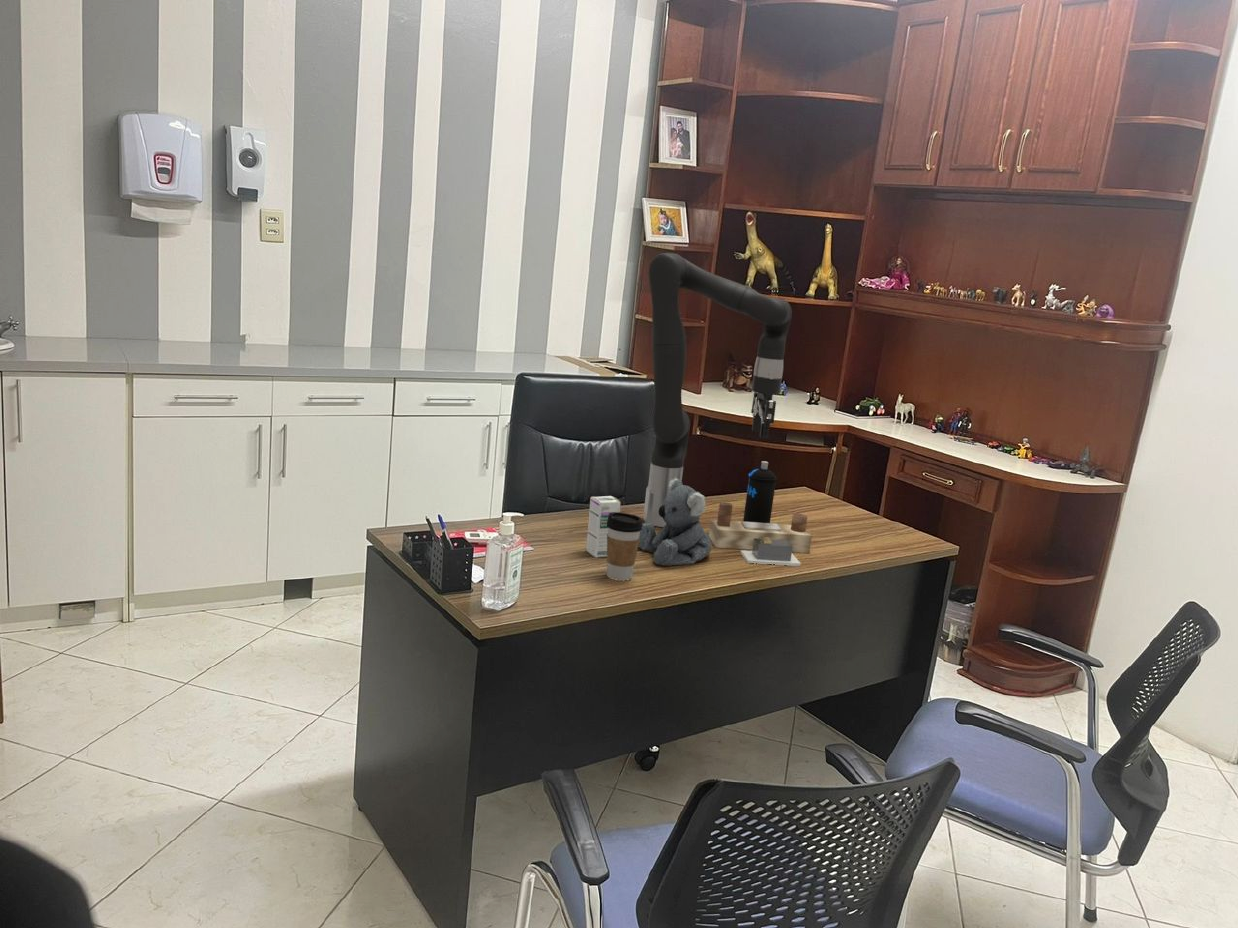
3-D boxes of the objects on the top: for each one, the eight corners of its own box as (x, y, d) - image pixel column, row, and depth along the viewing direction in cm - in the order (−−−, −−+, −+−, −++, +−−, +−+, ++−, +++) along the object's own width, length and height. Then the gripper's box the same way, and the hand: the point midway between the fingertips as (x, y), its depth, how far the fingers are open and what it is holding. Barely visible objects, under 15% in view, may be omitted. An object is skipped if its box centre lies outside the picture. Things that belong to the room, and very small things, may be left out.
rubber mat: (747, 563, 245) (748, 560, 244) (740, 553, 252) (740, 550, 252) (800, 566, 246) (800, 563, 246) (791, 556, 254) (791, 553, 254)
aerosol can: (769, 526, 279) (778, 460, 275) (770, 534, 271) (780, 466, 267) (741, 523, 280) (749, 457, 275) (741, 531, 272) (750, 463, 267)
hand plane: (715, 547, 255) (720, 508, 252) (708, 536, 264) (713, 498, 261) (809, 553, 258) (815, 514, 256) (799, 542, 267) (805, 504, 264)
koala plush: (631, 545, 249) (639, 473, 245) (693, 543, 256) (702, 473, 252) (658, 568, 234) (667, 492, 229) (723, 566, 241) (733, 491, 236)
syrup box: (595, 558, 237) (601, 502, 233) (585, 550, 242) (590, 495, 238) (615, 556, 239) (621, 501, 236) (605, 549, 244) (610, 494, 241)
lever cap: (756, 559, 246) (759, 541, 245) (752, 552, 251) (754, 535, 250) (790, 561, 247) (793, 543, 246) (785, 554, 252) (787, 537, 251)
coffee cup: (600, 569, 229) (606, 509, 226) (635, 571, 230) (641, 512, 227) (602, 581, 221) (608, 520, 218) (638, 584, 222) (645, 522, 218)
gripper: (747, 369, 259) (740, 428, 263) (760, 377, 245) (752, 439, 249) (774, 372, 260) (766, 430, 264) (789, 380, 246) (780, 441, 250)
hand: (759, 434), depth 256 cm, fingers open, 8 cm apart
